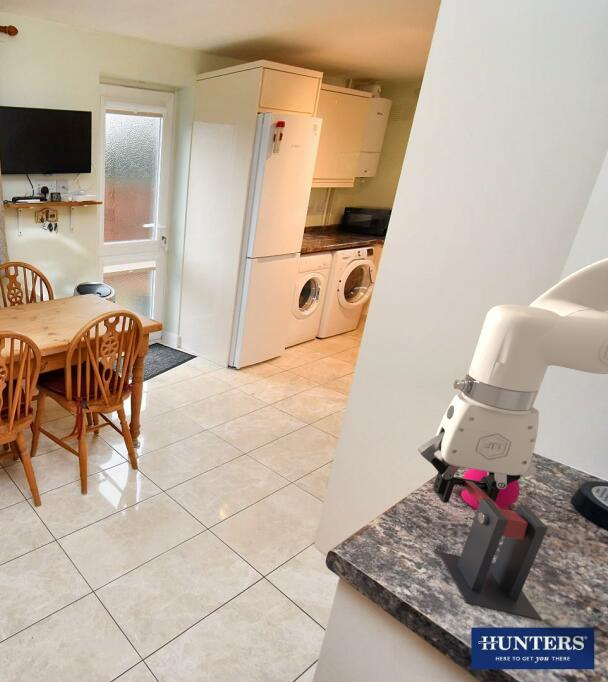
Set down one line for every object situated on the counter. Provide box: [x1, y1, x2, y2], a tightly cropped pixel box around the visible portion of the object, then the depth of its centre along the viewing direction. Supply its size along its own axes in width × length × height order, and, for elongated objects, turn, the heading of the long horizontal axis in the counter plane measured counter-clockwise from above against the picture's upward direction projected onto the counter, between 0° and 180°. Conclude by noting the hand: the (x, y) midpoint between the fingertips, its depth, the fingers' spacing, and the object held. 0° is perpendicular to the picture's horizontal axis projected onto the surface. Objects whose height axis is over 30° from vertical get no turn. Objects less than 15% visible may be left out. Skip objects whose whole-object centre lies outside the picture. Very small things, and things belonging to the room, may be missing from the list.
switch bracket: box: [437, 498, 548, 622], centre depth 58 cm, size 9×8×13 cm
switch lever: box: [452, 476, 528, 540], centre depth 62 cm, size 13×4×2 cm, turn 162°
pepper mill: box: [460, 468, 520, 512], centre depth 73 cm, size 7×7×20 cm
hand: (461, 499), depth 68 cm, fingers closed on switch lever, 4 cm apart
